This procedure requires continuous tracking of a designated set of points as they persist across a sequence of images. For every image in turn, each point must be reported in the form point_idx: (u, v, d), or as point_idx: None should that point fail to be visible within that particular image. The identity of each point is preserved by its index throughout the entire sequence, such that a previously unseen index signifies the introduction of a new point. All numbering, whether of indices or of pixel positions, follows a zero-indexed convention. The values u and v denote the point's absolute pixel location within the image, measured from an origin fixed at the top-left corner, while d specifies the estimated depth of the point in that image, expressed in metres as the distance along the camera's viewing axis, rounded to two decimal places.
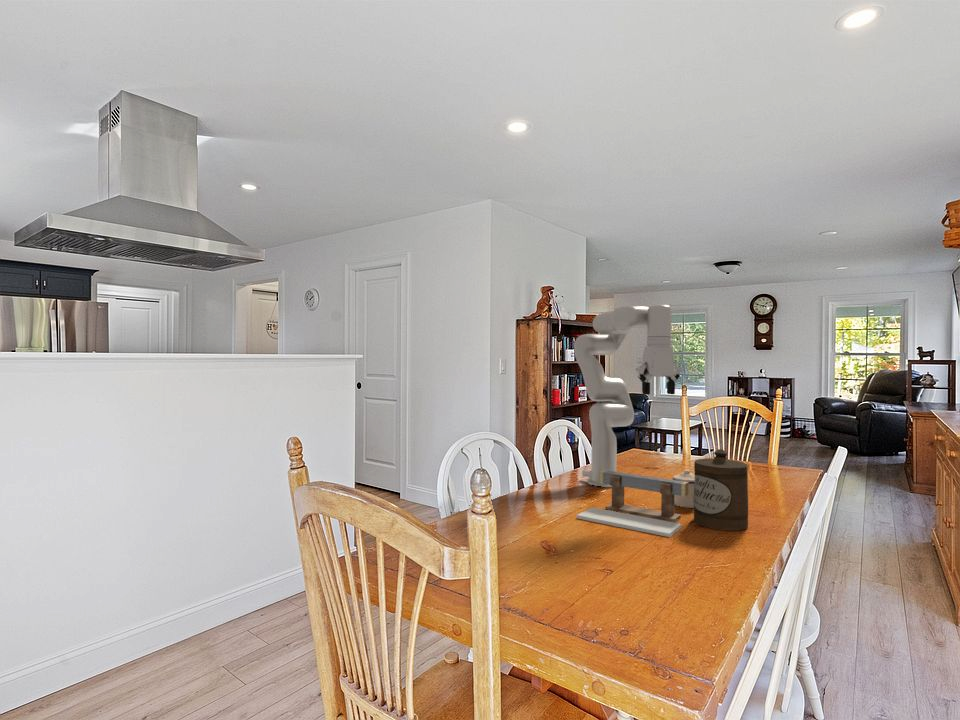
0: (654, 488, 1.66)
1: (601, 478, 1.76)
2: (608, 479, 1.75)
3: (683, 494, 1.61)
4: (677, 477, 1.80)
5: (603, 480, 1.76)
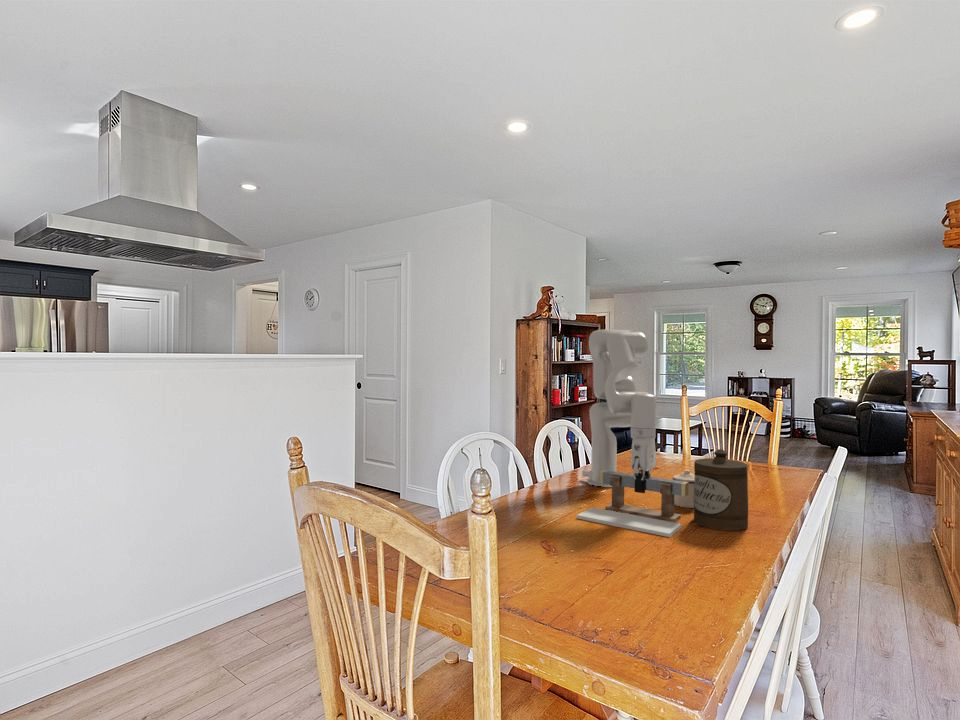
0: (654, 488, 1.66)
1: (601, 478, 1.76)
2: (608, 479, 1.75)
3: (683, 494, 1.61)
4: (677, 477, 1.80)
5: (603, 480, 1.76)
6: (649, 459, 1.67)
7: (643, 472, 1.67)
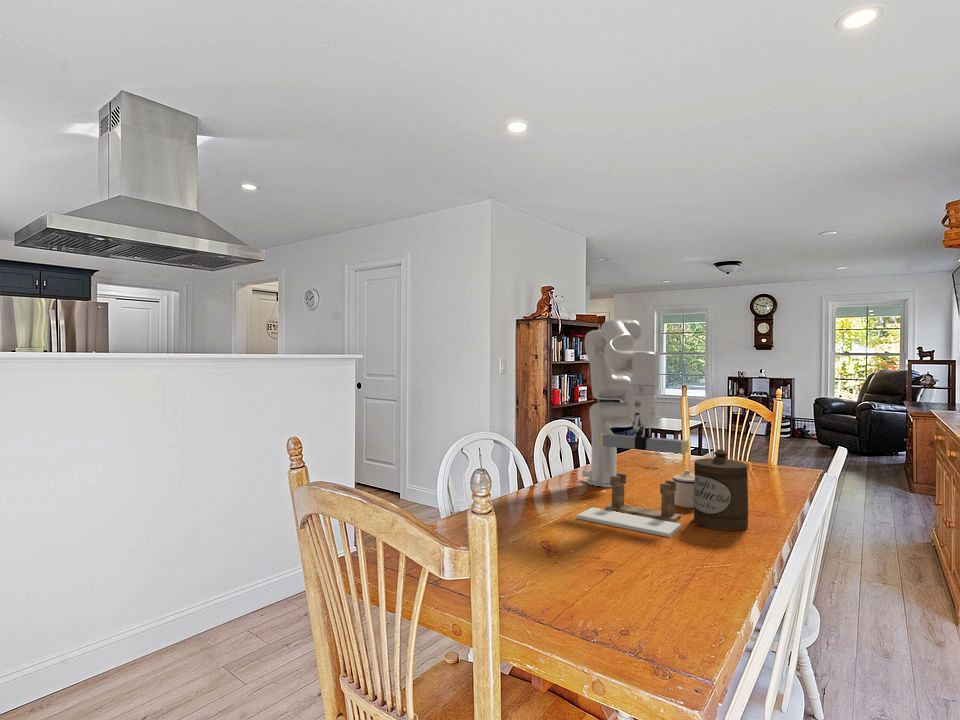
0: (654, 448, 1.66)
1: (601, 441, 1.77)
2: (608, 441, 1.75)
3: (683, 452, 1.61)
4: (677, 477, 1.80)
5: (603, 443, 1.76)
6: (649, 416, 1.67)
7: (643, 429, 1.67)
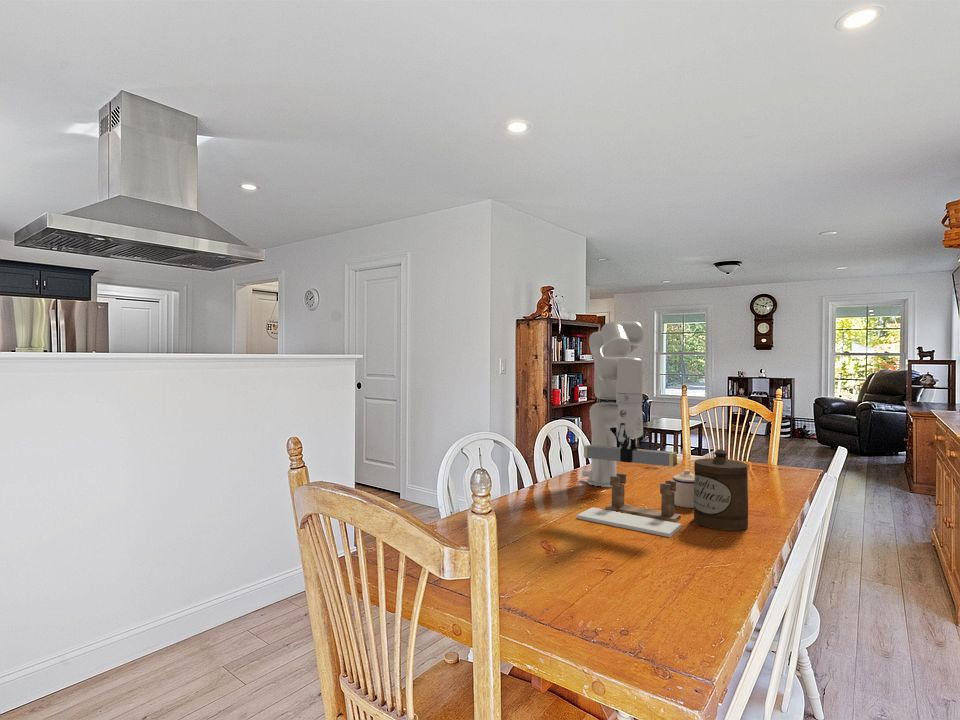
0: (640, 460, 1.56)
1: (585, 452, 1.67)
2: (592, 453, 1.65)
3: (671, 464, 1.51)
4: (677, 477, 1.80)
5: (587, 454, 1.66)
6: (635, 426, 1.57)
7: (629, 440, 1.57)
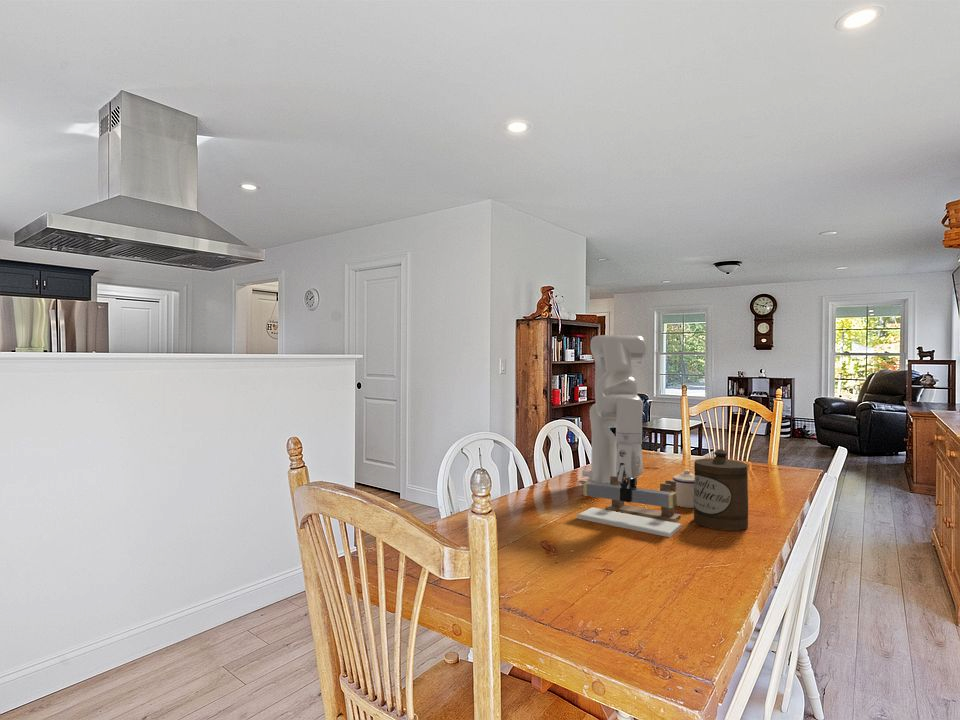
0: (640, 500, 1.56)
1: (584, 490, 1.67)
2: (592, 491, 1.65)
3: (670, 506, 1.51)
4: (677, 477, 1.80)
5: (587, 492, 1.66)
6: (635, 466, 1.57)
7: (629, 480, 1.57)
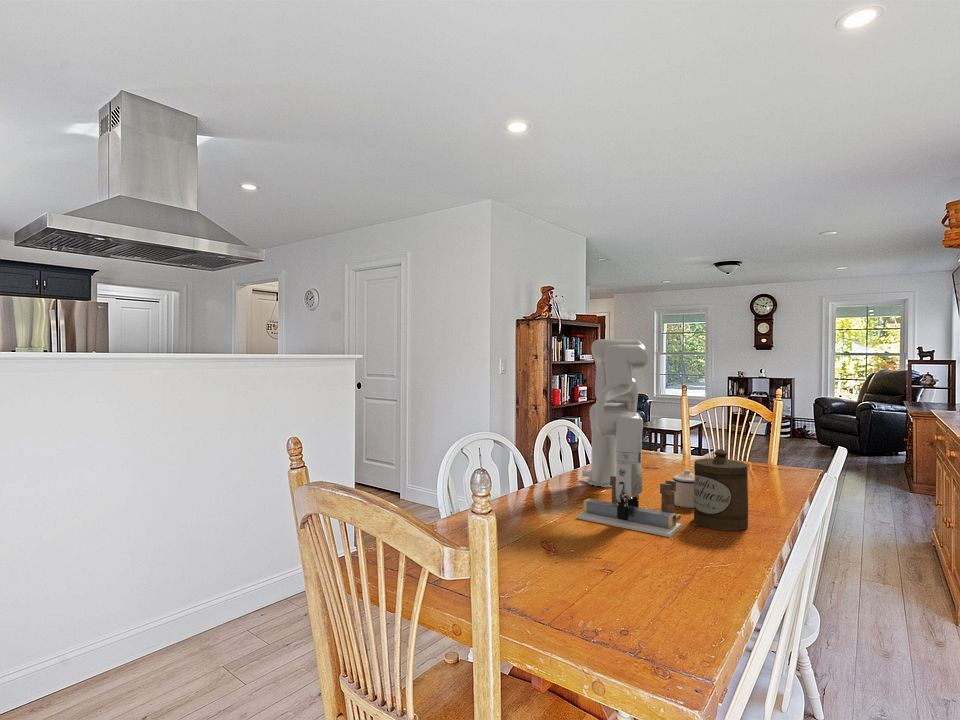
0: (639, 520, 1.57)
1: (584, 507, 1.67)
2: (592, 509, 1.66)
3: (670, 527, 1.51)
4: (677, 477, 1.80)
5: (587, 509, 1.67)
6: (635, 485, 1.57)
7: (627, 498, 1.56)
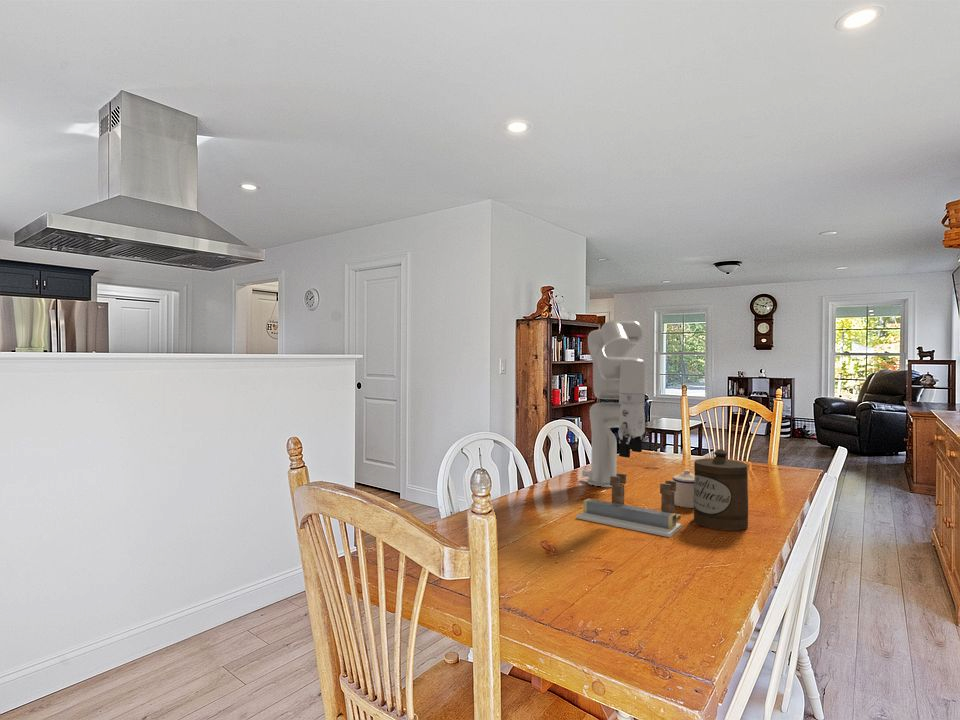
0: (639, 520, 1.57)
1: (584, 507, 1.67)
2: (592, 509, 1.66)
3: (670, 527, 1.51)
4: (677, 477, 1.80)
5: (587, 509, 1.67)
6: (637, 425, 1.63)
7: (629, 436, 1.62)
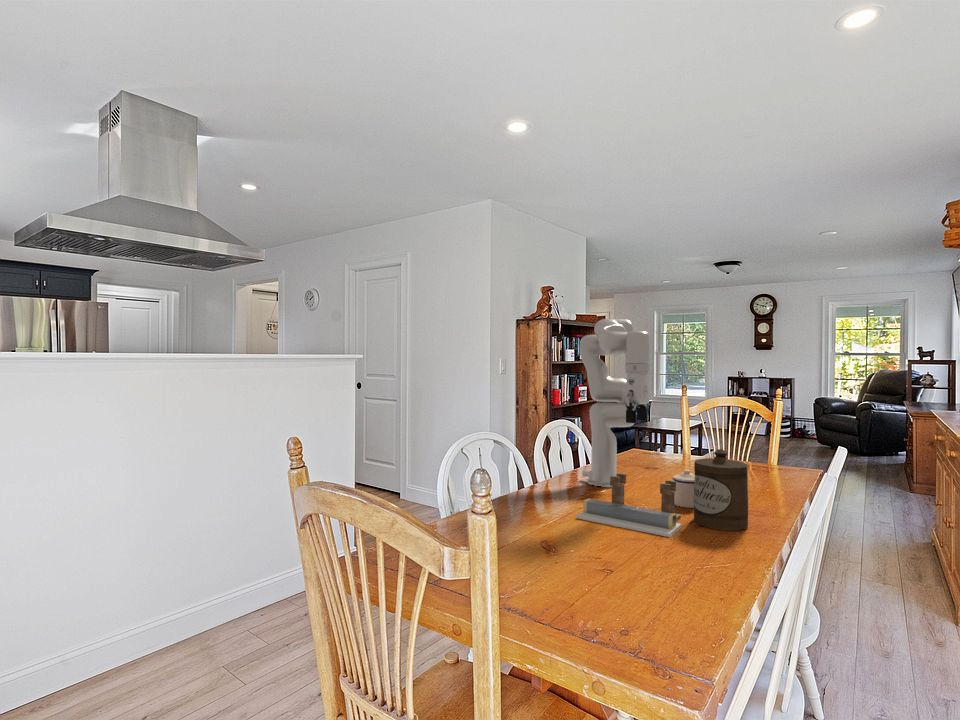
0: (639, 520, 1.57)
1: (584, 507, 1.67)
2: (592, 509, 1.66)
3: (670, 527, 1.51)
4: (677, 477, 1.80)
5: (587, 509, 1.67)
6: (643, 393, 1.73)
7: (635, 403, 1.72)
